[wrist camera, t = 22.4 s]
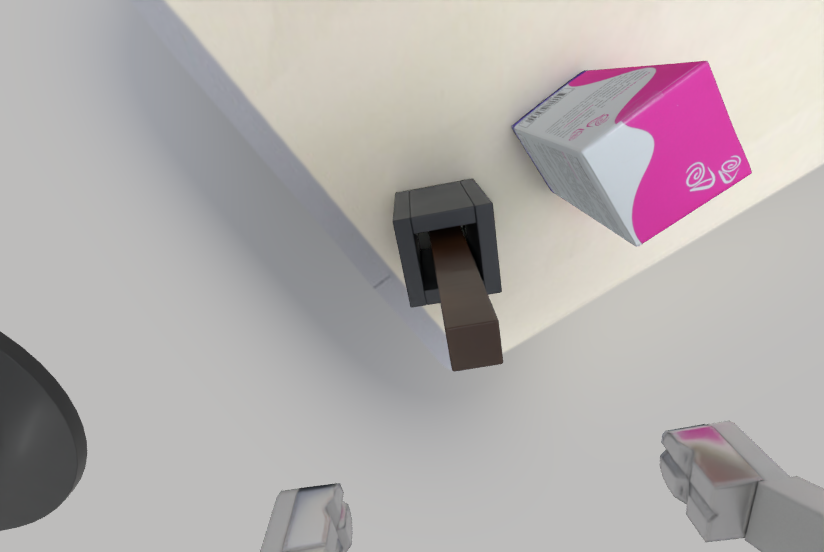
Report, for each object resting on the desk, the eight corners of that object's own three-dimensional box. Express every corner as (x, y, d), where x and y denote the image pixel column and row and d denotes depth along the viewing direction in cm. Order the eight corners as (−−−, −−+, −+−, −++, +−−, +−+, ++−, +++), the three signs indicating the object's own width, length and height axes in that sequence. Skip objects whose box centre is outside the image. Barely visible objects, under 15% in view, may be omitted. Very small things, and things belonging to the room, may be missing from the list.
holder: (409, 264, 31) (410, 308, 25) (395, 192, 29) (392, 221, 23) (482, 251, 31) (502, 292, 25) (473, 178, 29) (492, 202, 22)
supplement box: (553, 195, 29) (635, 252, 19) (508, 126, 27) (573, 147, 17) (627, 143, 28) (759, 174, 18) (586, 66, 26) (708, 49, 16)
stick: (430, 238, 31) (452, 372, 16) (425, 213, 30) (444, 329, 15) (456, 233, 30) (503, 364, 16) (453, 207, 30) (498, 320, 15)
